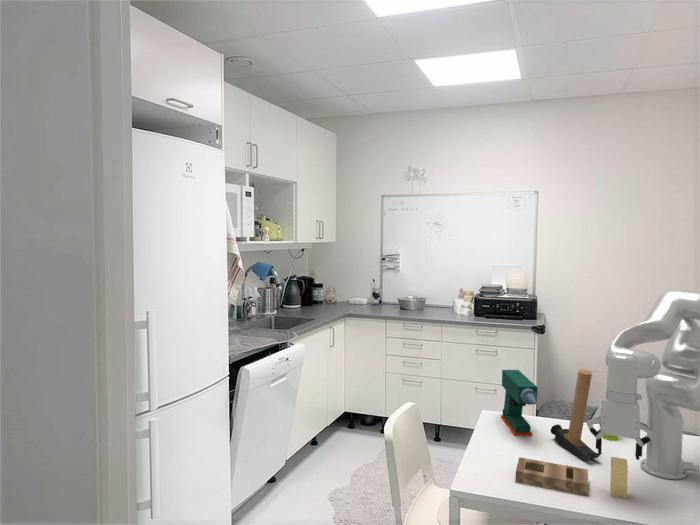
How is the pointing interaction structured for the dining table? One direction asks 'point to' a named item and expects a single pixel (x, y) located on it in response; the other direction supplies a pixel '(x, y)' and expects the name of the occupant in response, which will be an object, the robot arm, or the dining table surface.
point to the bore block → (552, 476)
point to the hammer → (576, 421)
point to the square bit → (618, 477)
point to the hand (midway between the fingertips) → (618, 454)
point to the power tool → (517, 401)
